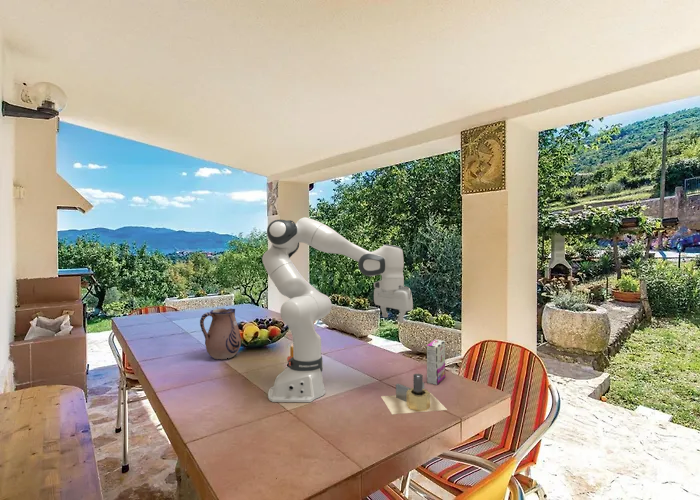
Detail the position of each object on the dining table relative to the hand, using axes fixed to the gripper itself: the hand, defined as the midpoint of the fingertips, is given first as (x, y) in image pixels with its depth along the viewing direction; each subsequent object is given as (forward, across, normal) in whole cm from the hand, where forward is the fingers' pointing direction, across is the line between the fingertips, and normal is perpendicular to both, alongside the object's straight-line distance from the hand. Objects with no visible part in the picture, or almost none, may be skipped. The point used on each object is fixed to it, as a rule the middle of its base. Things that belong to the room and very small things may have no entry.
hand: (392, 318), depth 148 cm
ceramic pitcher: (+29, +83, +46) cm, 99 cm away
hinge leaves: (+28, -16, +3) cm, 32 cm away
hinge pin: (+28, -18, +4) cm, 33 cm away
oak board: (+29, -15, +4) cm, 33 cm away
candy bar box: (+29, -2, -23) cm, 38 cm away
